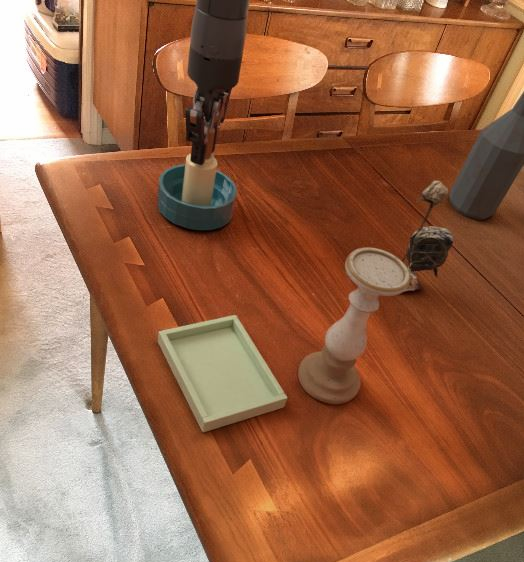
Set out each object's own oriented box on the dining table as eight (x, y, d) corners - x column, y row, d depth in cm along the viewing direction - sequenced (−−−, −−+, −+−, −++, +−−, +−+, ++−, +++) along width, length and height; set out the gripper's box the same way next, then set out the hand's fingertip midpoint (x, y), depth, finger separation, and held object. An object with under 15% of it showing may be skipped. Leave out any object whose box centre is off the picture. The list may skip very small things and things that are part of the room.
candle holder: (327, 347, 81) (375, 235, 67) (370, 387, 78) (431, 278, 63) (284, 371, 77) (326, 256, 62) (328, 415, 73) (384, 304, 58)
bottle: (501, 218, 118) (589, 74, 96) (468, 223, 114) (552, 73, 92) (471, 191, 124) (548, 49, 102) (438, 194, 119) (510, 47, 98)
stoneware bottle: (176, 209, 96) (184, 129, 85) (187, 195, 99) (197, 117, 89) (204, 219, 95) (215, 140, 85) (214, 205, 99) (227, 127, 89)
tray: (157, 341, 76) (158, 331, 74) (233, 324, 81) (235, 314, 79) (202, 432, 67) (204, 423, 66) (284, 407, 72) (287, 397, 71)
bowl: (144, 216, 94) (145, 190, 90) (175, 180, 103) (178, 156, 99) (216, 242, 93) (221, 217, 89) (242, 204, 102) (247, 180, 98)
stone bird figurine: (431, 306, 93) (490, 204, 79) (366, 284, 93) (413, 179, 79) (433, 277, 99) (489, 178, 84) (372, 257, 99) (418, 154, 85)
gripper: (210, 24, 83) (197, 132, 96) (171, 51, 73) (162, 168, 86) (257, 39, 83) (238, 146, 95) (224, 69, 73) (207, 184, 85)
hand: (202, 156), depth 90 cm, fingers closed on stoneware bottle, 3 cm apart
